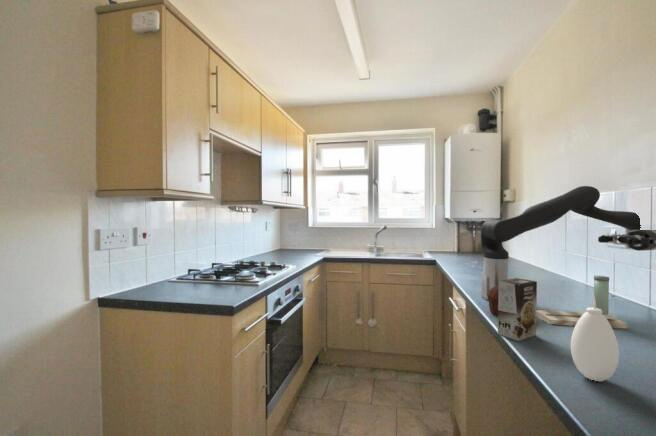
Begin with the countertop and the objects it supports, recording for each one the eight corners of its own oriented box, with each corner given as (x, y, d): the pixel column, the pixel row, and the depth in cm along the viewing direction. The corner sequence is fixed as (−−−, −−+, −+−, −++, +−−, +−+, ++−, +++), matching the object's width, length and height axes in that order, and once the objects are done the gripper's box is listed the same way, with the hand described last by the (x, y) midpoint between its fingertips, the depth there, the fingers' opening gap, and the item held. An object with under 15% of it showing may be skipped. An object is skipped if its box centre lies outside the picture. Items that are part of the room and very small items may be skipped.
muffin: (531, 319, 104) (532, 289, 104) (502, 321, 102) (502, 291, 102) (506, 308, 116) (506, 282, 115) (479, 309, 114) (479, 283, 114)
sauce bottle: (573, 366, 72) (574, 290, 72) (619, 379, 66) (621, 296, 66) (567, 378, 66) (568, 296, 66) (616, 394, 61) (617, 304, 60)
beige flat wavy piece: (549, 324, 99) (549, 319, 99) (533, 314, 109) (533, 309, 109) (627, 328, 95) (627, 323, 95) (603, 317, 105) (603, 313, 105)
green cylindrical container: (598, 318, 99) (598, 278, 98) (586, 312, 104) (587, 274, 104) (616, 319, 98) (616, 278, 98) (603, 313, 103) (604, 275, 103)
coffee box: (518, 342, 86) (519, 284, 85) (496, 333, 91) (497, 280, 91) (537, 335, 90) (538, 281, 90) (515, 328, 95) (515, 277, 95)
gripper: (622, 228, 118) (591, 228, 113) (672, 230, 104) (638, 230, 100) (622, 248, 118) (590, 248, 114) (672, 252, 104) (638, 253, 100)
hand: (613, 240), depth 107 cm, fingers open, 8 cm apart
